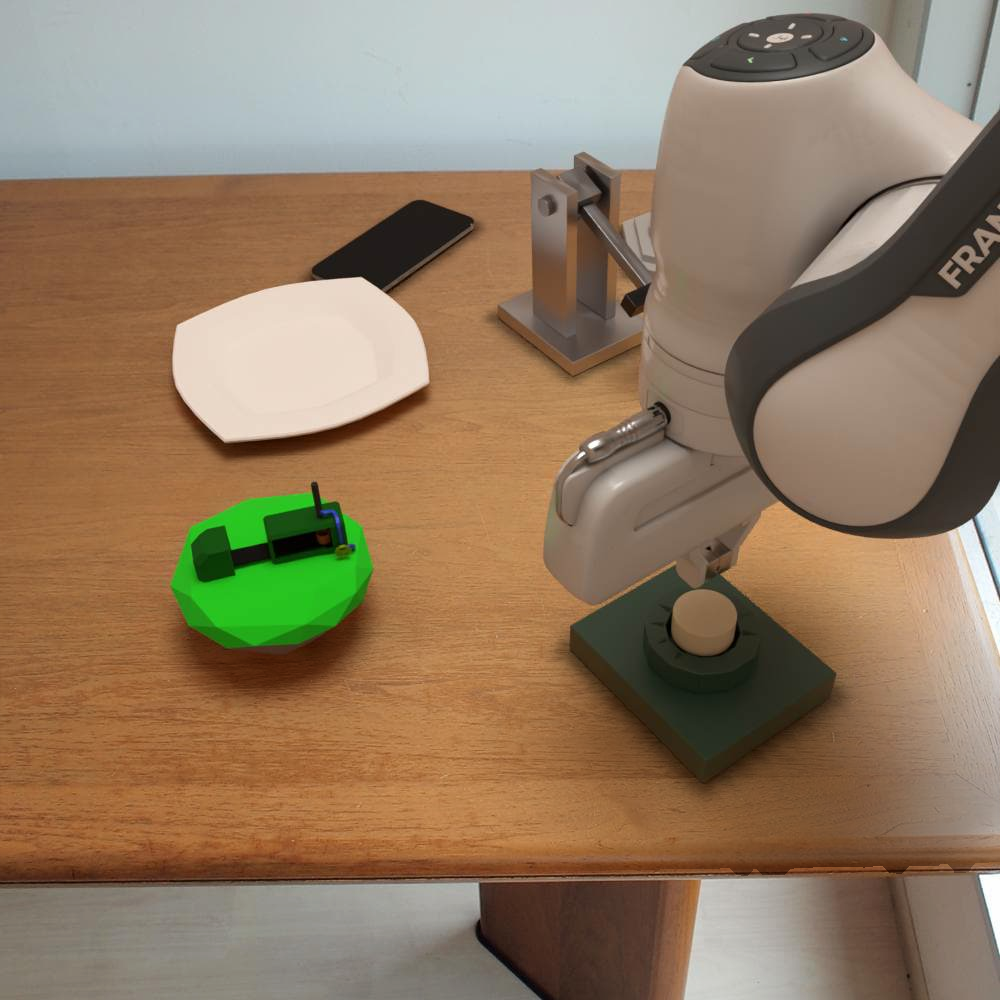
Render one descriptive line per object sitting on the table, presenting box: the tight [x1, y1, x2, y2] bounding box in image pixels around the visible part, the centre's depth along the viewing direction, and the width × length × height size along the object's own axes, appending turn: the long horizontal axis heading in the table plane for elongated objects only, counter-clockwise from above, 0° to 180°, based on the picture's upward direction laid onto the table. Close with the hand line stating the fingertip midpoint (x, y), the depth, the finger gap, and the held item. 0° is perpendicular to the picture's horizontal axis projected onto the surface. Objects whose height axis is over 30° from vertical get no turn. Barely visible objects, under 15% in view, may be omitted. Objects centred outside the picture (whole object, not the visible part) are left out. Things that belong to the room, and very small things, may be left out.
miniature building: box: [169, 481, 374, 656], centre depth 73 cm, size 12×12×11 cm
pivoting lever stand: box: [497, 151, 643, 377], centre depth 94 cm, size 10×8×14 cm
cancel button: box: [671, 589, 737, 656], centre depth 69 cm, size 4×4×2 cm
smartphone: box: [311, 199, 475, 293], centre depth 107 cm, size 7×1×15 cm
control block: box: [569, 564, 837, 785], centre depth 71 cm, size 12×10×4 cm
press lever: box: [555, 166, 654, 318], centre depth 89 cm, size 12×5×2 cm, turn 35°
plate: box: [171, 277, 430, 444], centre depth 95 cm, size 19×19×2 cm
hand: (705, 570), depth 67 cm, fingers closed
